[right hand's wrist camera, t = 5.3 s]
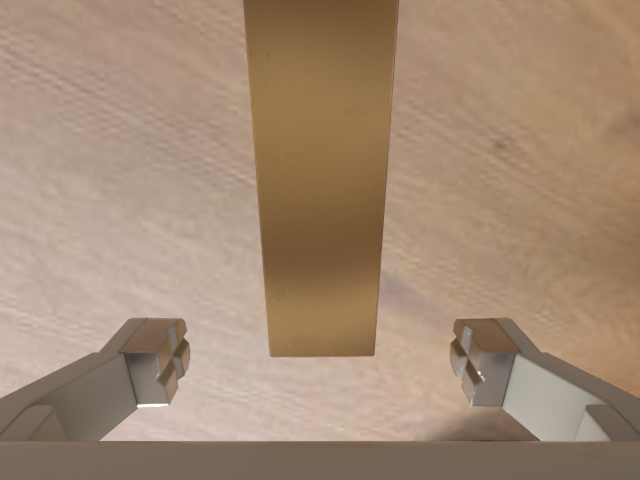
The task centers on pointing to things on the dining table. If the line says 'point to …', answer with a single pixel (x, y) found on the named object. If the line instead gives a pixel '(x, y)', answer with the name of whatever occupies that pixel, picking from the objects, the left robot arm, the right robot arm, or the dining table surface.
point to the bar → (321, 166)
